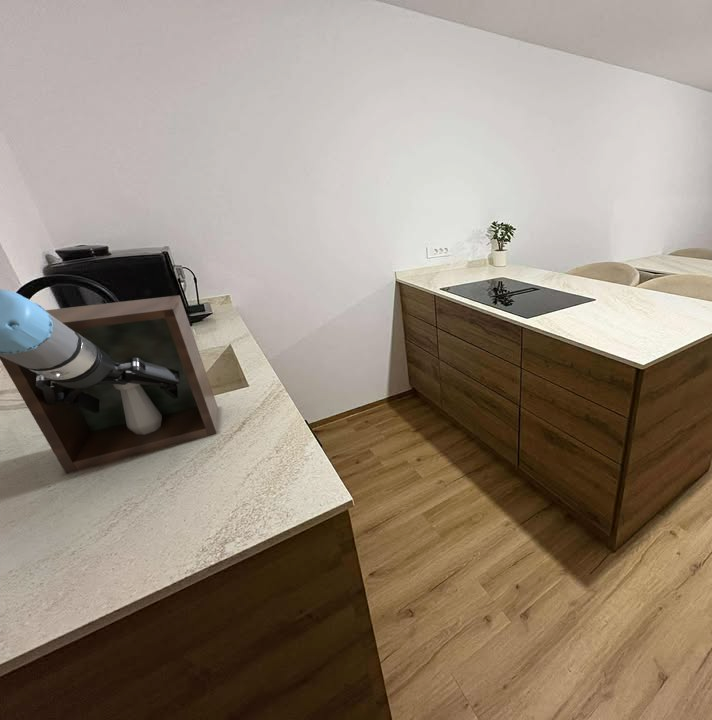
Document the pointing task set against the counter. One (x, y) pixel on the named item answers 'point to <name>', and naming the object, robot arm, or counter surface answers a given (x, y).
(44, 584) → the counter surface
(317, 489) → the counter surface
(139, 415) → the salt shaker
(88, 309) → the brown wooden box
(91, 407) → the robot arm
